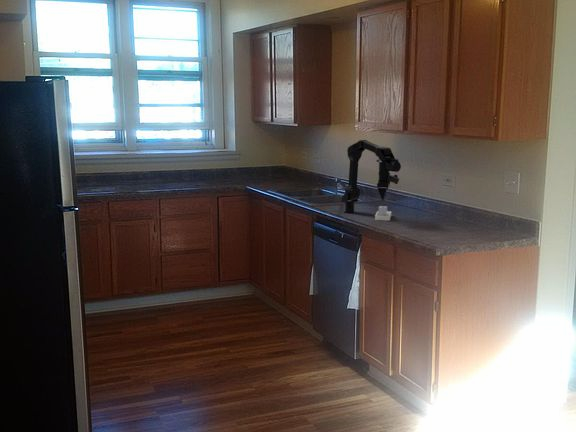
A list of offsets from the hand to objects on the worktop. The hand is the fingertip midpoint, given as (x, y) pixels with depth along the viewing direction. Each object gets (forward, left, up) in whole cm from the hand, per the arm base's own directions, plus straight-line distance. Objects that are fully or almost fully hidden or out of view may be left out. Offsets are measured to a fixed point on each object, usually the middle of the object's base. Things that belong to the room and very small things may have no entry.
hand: (383, 198), depth 360 cm
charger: (0, 0, -12) cm, 12 cm away
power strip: (-4, 0, -12) cm, 12 cm away
